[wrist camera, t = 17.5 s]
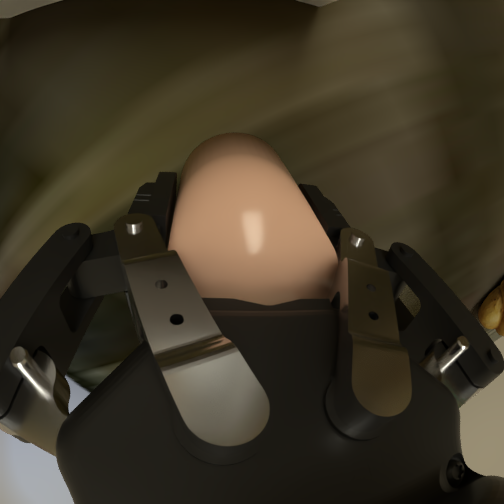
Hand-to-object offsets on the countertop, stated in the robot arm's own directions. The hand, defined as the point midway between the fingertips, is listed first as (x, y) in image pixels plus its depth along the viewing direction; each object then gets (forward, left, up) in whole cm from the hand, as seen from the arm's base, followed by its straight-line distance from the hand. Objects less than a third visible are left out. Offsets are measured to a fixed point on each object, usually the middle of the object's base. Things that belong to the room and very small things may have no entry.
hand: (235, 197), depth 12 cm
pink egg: (0, 0, -2) cm, 2 cm away
